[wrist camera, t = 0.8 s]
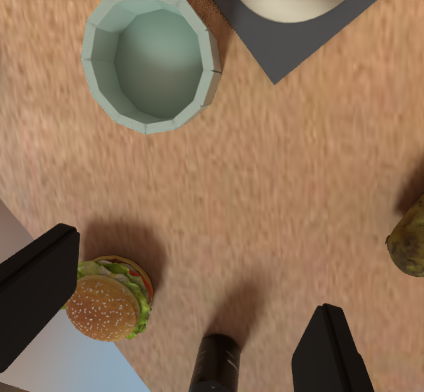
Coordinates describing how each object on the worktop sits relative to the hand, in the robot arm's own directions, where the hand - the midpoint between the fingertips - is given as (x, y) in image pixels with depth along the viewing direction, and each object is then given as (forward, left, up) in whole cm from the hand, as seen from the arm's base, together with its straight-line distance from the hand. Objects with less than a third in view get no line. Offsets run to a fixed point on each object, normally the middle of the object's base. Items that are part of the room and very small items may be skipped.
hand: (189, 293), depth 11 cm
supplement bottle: (+23, +24, -27) cm, 43 cm away
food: (+28, +5, -27) cm, 39 cm away
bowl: (+1, -13, -27) cm, 30 cm away
